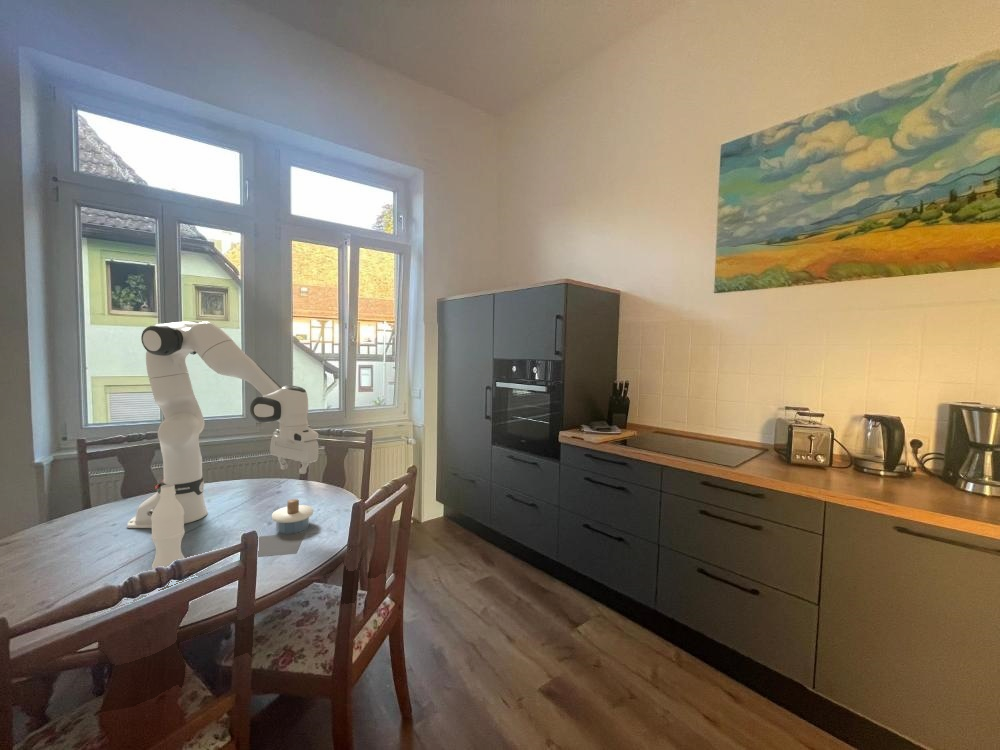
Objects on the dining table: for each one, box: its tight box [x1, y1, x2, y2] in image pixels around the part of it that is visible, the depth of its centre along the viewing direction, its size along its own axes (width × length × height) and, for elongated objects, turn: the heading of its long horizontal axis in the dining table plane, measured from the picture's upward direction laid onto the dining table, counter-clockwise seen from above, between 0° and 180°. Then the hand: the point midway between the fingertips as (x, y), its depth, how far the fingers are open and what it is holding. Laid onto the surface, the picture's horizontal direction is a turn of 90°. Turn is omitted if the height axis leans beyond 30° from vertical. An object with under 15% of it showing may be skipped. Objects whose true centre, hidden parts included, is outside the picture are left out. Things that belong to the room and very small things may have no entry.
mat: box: [257, 532, 306, 558], centre depth 130 cm, size 14×14×1 cm
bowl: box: [275, 517, 310, 535], centre depth 142 cm, size 10×10×5 cm
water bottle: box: [150, 484, 186, 570], centre depth 112 cm, size 7×7×25 cm
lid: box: [271, 498, 314, 523], centre depth 142 cm, size 13×13×5 cm
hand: (293, 471), depth 141 cm, fingers open, 8 cm apart
